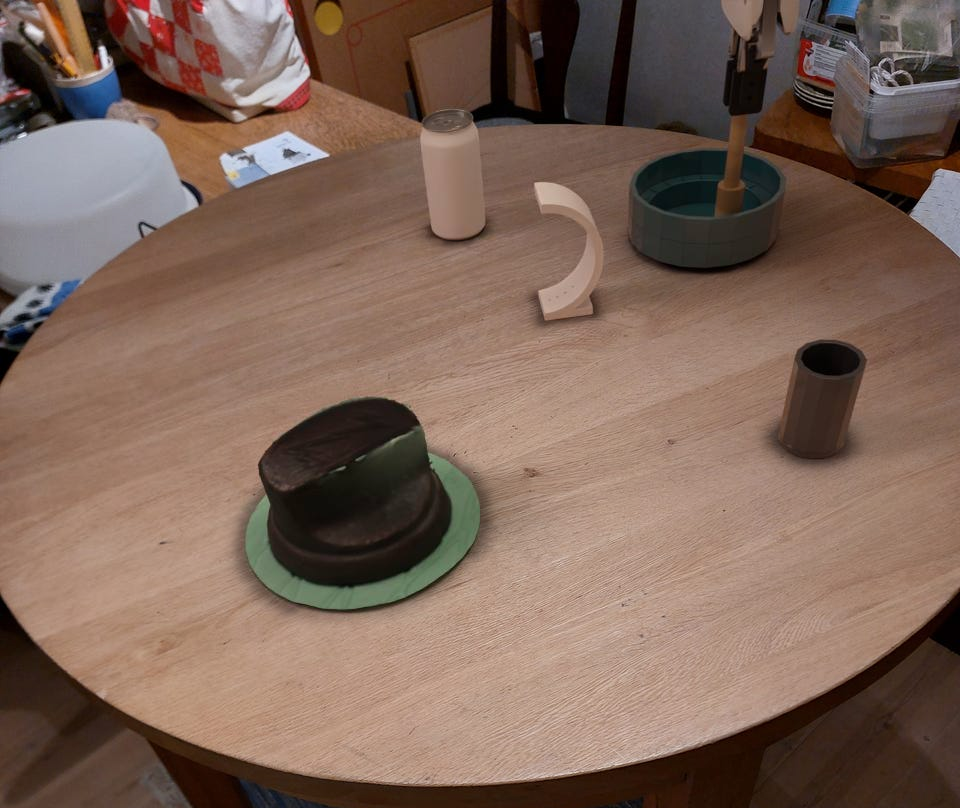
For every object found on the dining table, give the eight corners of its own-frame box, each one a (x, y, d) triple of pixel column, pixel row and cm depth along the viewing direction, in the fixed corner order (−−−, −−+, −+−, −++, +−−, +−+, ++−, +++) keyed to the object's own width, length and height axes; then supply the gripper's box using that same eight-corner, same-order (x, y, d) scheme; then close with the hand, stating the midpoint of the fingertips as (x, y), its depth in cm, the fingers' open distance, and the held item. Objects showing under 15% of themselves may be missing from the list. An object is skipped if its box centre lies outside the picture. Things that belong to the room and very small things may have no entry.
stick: (736, 213, 99) (760, 38, 86) (742, 226, 98) (767, 48, 84) (711, 216, 100) (730, 41, 86) (716, 229, 98) (737, 52, 85)
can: (468, 246, 104) (457, 136, 95) (421, 236, 106) (406, 128, 97) (495, 220, 107) (487, 111, 98) (449, 211, 110) (437, 104, 100)
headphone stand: (538, 297, 96) (533, 182, 87) (594, 289, 96) (596, 173, 87) (544, 320, 93) (540, 204, 84) (602, 313, 93) (605, 196, 84)
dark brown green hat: (365, 405, 85) (535, 489, 76) (263, 574, 85) (421, 677, 76) (275, 318, 71) (469, 408, 63) (153, 519, 71) (331, 636, 63)
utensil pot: (832, 415, 80) (853, 335, 74) (852, 455, 76) (876, 375, 70) (771, 422, 80) (787, 342, 74) (787, 462, 76) (806, 382, 70)
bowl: (756, 194, 106) (764, 140, 101) (793, 265, 95) (804, 209, 91) (618, 210, 106) (619, 157, 101) (640, 282, 96) (643, 227, 91)
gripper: (846, -112, 70) (801, 137, 85) (790, -156, 80) (759, 74, 95) (750, -99, 71) (721, 147, 85) (706, -145, 81) (687, 83, 95)
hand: (741, 107), depth 90 cm, fingers closed on stick, 1 cm apart
